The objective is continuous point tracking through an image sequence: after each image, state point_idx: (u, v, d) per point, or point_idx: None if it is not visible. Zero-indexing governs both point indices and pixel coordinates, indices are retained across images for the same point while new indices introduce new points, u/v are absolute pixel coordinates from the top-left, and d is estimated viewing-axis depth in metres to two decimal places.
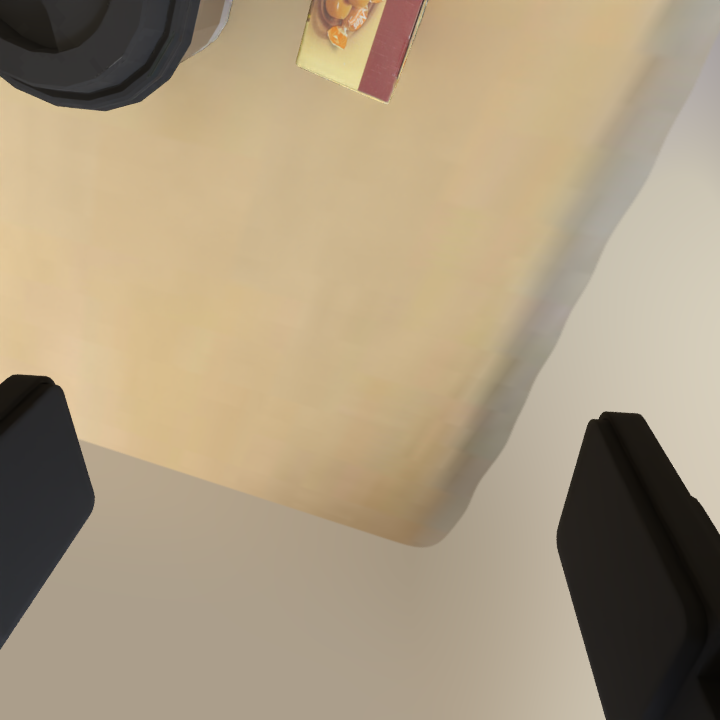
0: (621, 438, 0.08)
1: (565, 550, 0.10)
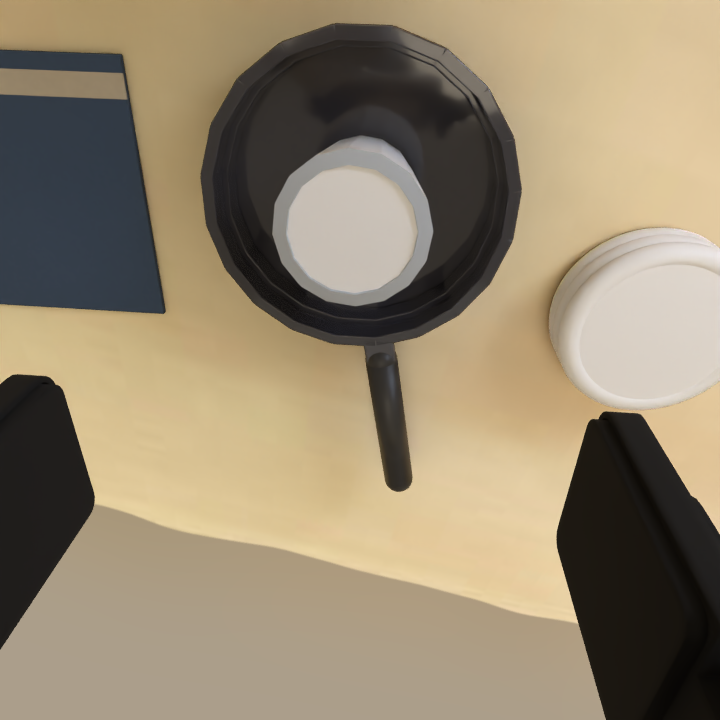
0: (621, 438, 0.08)
1: (565, 550, 0.10)
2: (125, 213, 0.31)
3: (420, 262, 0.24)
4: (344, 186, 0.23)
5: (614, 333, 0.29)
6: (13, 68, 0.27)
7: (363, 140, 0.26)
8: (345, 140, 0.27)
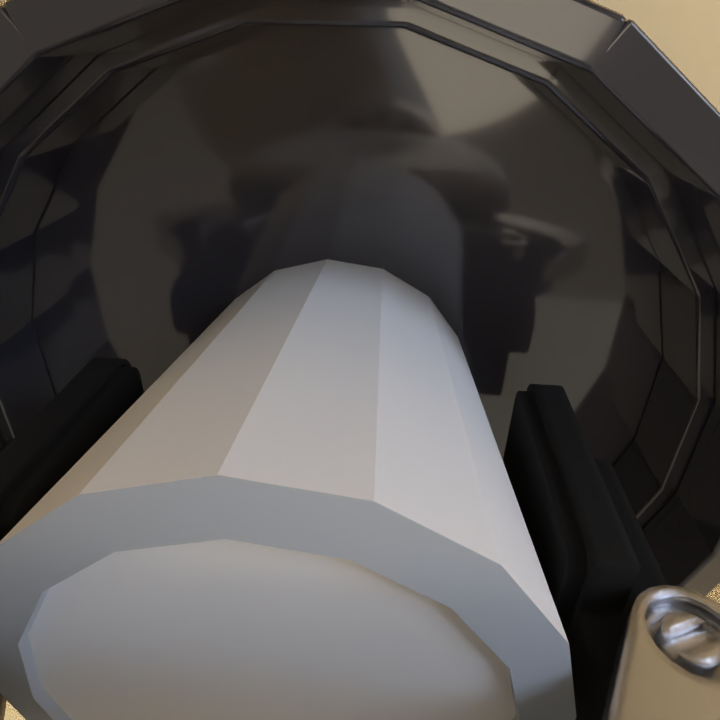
0: (540, 406, 0.09)
1: None
2: None
3: None
4: (221, 589, 0.05)
5: None
6: None
7: (325, 307, 0.09)
8: (281, 287, 0.10)
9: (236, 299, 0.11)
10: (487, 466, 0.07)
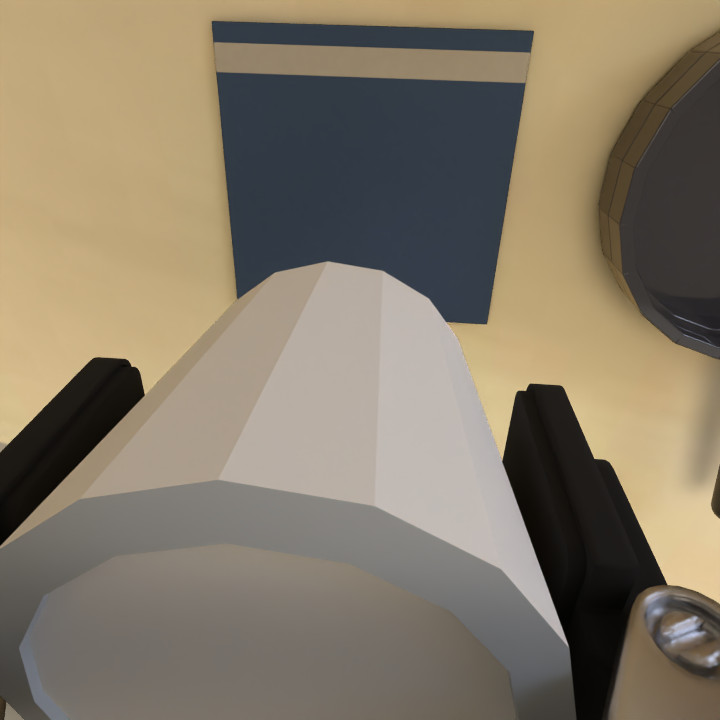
0: (540, 406, 0.09)
1: None
2: (480, 212, 0.28)
3: None
4: (221, 593, 0.05)
5: None
6: (402, 47, 0.24)
7: (326, 310, 0.09)
8: (281, 289, 0.10)
9: (236, 301, 0.11)
10: (487, 469, 0.07)
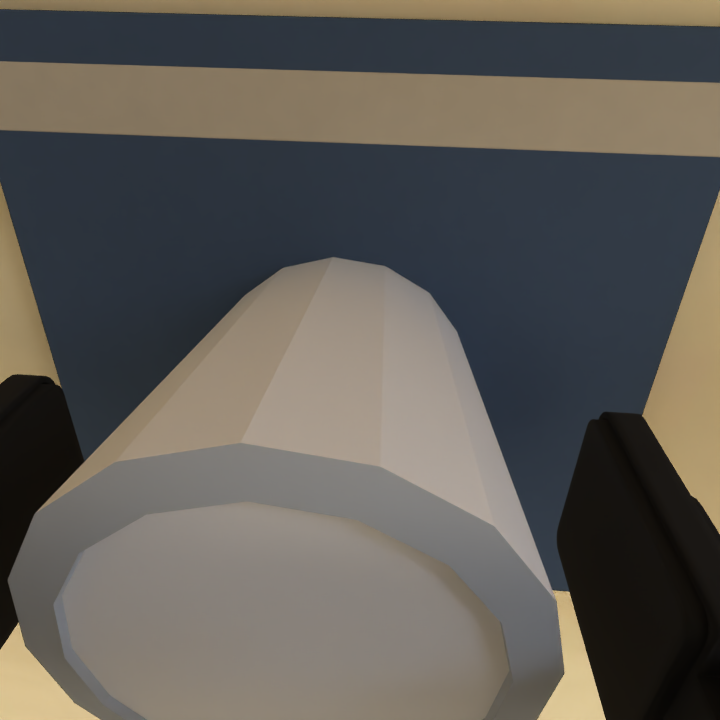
0: (621, 438, 0.08)
1: (565, 550, 0.10)
2: (587, 416, 0.13)
3: None
4: (240, 551, 0.06)
5: None
6: (426, 72, 0.10)
7: (332, 300, 0.09)
8: (290, 283, 0.10)
9: (246, 295, 0.12)
10: (483, 445, 0.07)
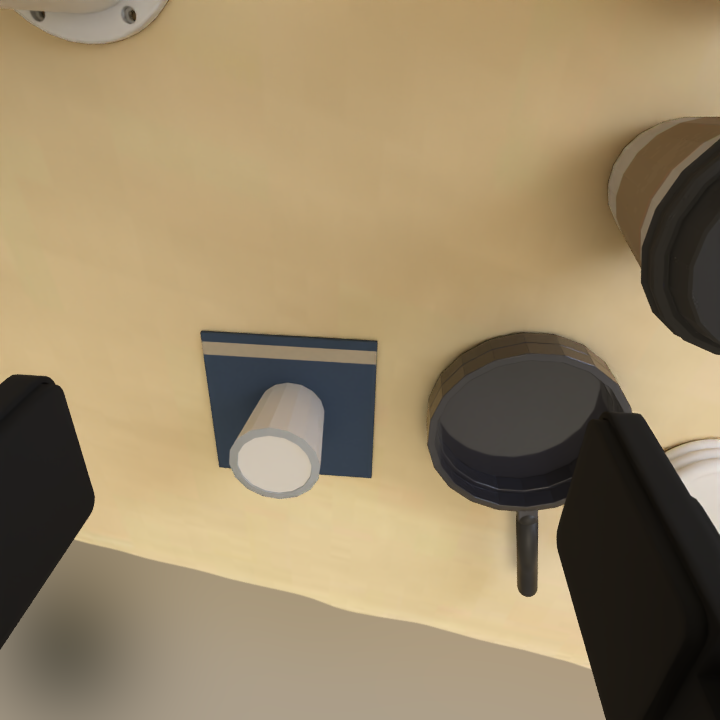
0: (621, 438, 0.08)
1: (565, 550, 0.10)
2: (359, 422, 0.47)
3: (314, 479, 0.41)
4: (267, 444, 0.40)
5: None
6: (306, 347, 0.44)
7: (285, 398, 0.43)
8: (276, 392, 0.44)
9: (265, 391, 0.46)
10: (310, 428, 0.41)
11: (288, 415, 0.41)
